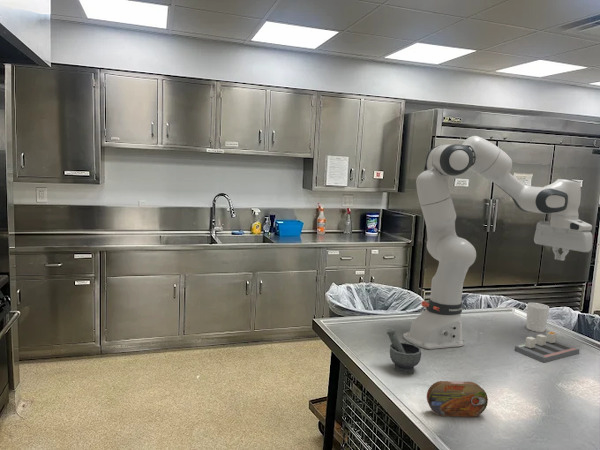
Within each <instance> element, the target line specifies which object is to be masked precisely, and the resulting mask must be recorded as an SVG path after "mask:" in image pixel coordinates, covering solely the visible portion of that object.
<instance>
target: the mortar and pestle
mask: <svg viewBox="0 0 600 450" xmlns="http://www.w3.org/2000/svg"><path fill="white" fill-rule="evenodd" d="M386 334H387V336H388V337H389V340H390V346H389V356H390V360H391V361H392V363H393V364H394V366H393V368H394V371H396V372H397V373H398V374H399V373H400V374H404V375H410V374H412V373H415V367H416V366H417V365H418V364H419V363H420V361H421V359H422V347H419V346H417V345H415V344H413V343H410V342H401V341H400V339H399V337H398V335H397V333H396V329H394V328H393V329H392V328H391V329H388V330H387V332H386Z"/></svg>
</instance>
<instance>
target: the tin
mask: <svg viewBox="0 0 600 450" xmlns="http://www.w3.org/2000/svg"><path fill="white" fill-rule="evenodd" d="M426 400H427V404H428V405H429V408H430V409H431V411H432V412H433V413H434V414H436V415H437V416H440V417H461V418H463V417H466V418H467V417H469V418H473V417H477V416H479V415H481V414H482V413H484V411H485V410H486V408H487V406H488V402H489V398H488V395H487V392H486V391H485V390H484V388H483V387H481V386H480V385H479V384H478V383H476V382H473V381H461V380H458V381H456V380H455V381H453V380H440V381H436V382H434V383H432V384H431V385H430V386H429V388H428V390H427V393H426Z"/></svg>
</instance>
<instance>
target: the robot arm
mask: <svg viewBox="0 0 600 450" xmlns="http://www.w3.org/2000/svg"><path fill="white" fill-rule="evenodd" d="M424 164H425V165H424V168H423V169H424V171H422V172H421V173H420V174H418V176H417V177H416V180H415V181H416V182H415V183H416V192H417V197H418V202H419V205H420V208H421V212H422V215H423V219H424V222H425V226H426V227H425V228H426V235H427V236H426V237H427V241H426V249H427V252H428V253H429V255H430V256H431V257H432V258H434V260H436V261H438V266H437V269H436V272H435V274H434V276H432V278H431V283H430V284H431V285H430V286H431V287H430V297H429V299H428V301H426V300H422V301H421V302H420V305H421V306H422V307H424V308H425V309H424V310H423V311H422V312H421V313H420V314H419V315H418V316H417V317H416V318H415V319H413V321H412V322H411V324H410V328H409V331H407V332H405V333H403V335H402V337H403V338H404V339H405V341H407V342H408V343H410V344H414V345H416V346H418V347H419V348H421V349H422V348H423V349H427V350H433V349H434V350H435V349H436V350H437V349H446V348H457V347H463V346H464V340H463V325H462V324H463V323H462V316H461V314H462V312H463V302H462V297H463V287H464V282H465V278H466V275H467V273H468V271H469V269H470V267H471V266H472V265H473V264H474V263H475V261H476V259H477V251H476V250H477V249H476V248H475V247H474V245H473V244H472V243H471V242H470V241H468V240H467V239H465V238H463V237H460V236H458V235H457V232H456V219H457V212H456V209H455V206H454V202H453V199H452V195H451V192H450V189H449V179H450V176H452V177H454V176H455V177H456V176H460V175H462V174H464V173H466V172H467V171H468V170H469V169H470V168H471V169H472V170H474V171H475V173H477V174H478V175H480V176H482V177H484V178H485V179H486V180H488V181H490V182H492V183H493V184H494V185H496V186H497V187H498V188H499V189H501V190H502V191H503V192H505V194H507V195H508V196H509V197H510V198H511V199H512V200H513V202H514V204H515V206H516V207H517V209H519V210H520V211H522V212H525V213H537V214H542V215H543V214H544V215H548V214H550V220H540V221H538V222H537V223H536V227H535V229H536V230H535V232H534V236H533V241H534V243H535V244H536V245H540V246H547V247H551V248H552V252H553V254H554V260H558V261H566V256H567V255H568V254H569V252H570V251H574V252H575V251H576V252H582V253H590V251H591V250H593V242H594V240H593V232H591V231H592V229H593V225H592V224H590V223H588V222H586V221H583V220H581V219H580V218H579V217H580V216H579V215H580V214H579V207H580V205H581V199H582V189H581V184H580V183H579V182H578V180H575V179H569V178H557V179H556V180H555V181H554V182H552V183H550V184H547V185H544V186H533V185H527V184H525V183H523V182H522V181H520V180H519V179H518V178H516V177H515V176H514V175H513V174H512V173H511V171H512V167H513V160H512V158H511V157H510V156H509V155H508V154H507V153H506V152H505V150H503V149H501V148H500V147H499V146H497V145H496V144H494V143H493V142H491V141H489V140H487V139H486V138H483V137H482V136H481V137H480V136H478V135H472V136H470V137H467V138H466V139H465V140H464V141H463V142H462V144H460V143H459V144H457V143H455V144H450V143H445V144H440V145H436V146H433V147H432V148H431V149H430V150H429V151H428V153H427V154H426V157H425V163H424ZM560 249H561V251H562V253H561V254H560V253H559V251H560Z"/></svg>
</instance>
